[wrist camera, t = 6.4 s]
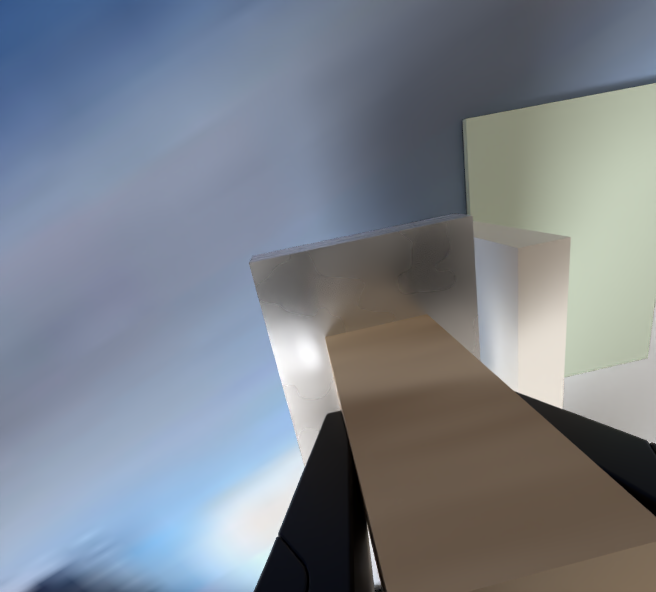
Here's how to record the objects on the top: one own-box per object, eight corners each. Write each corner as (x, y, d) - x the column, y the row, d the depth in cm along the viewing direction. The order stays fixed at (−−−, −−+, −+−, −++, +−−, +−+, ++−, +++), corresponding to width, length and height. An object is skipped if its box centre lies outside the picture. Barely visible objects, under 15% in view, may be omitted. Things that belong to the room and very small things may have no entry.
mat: (642, 355, 19) (647, 358, 19) (476, 394, 19) (479, 397, 18) (678, 79, 15) (685, 77, 15) (462, 120, 14) (465, 118, 14)
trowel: (470, 432, 12) (718, 762, 5) (310, 471, 12) (341, 876, 5) (454, 213, 10) (892, 271, 3) (253, 255, 10) (146, 445, 2)
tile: (458, 332, 18) (561, 418, 11) (431, 338, 17) (518, 429, 11) (451, 217, 16) (570, 236, 9) (420, 223, 16) (517, 248, 9)
